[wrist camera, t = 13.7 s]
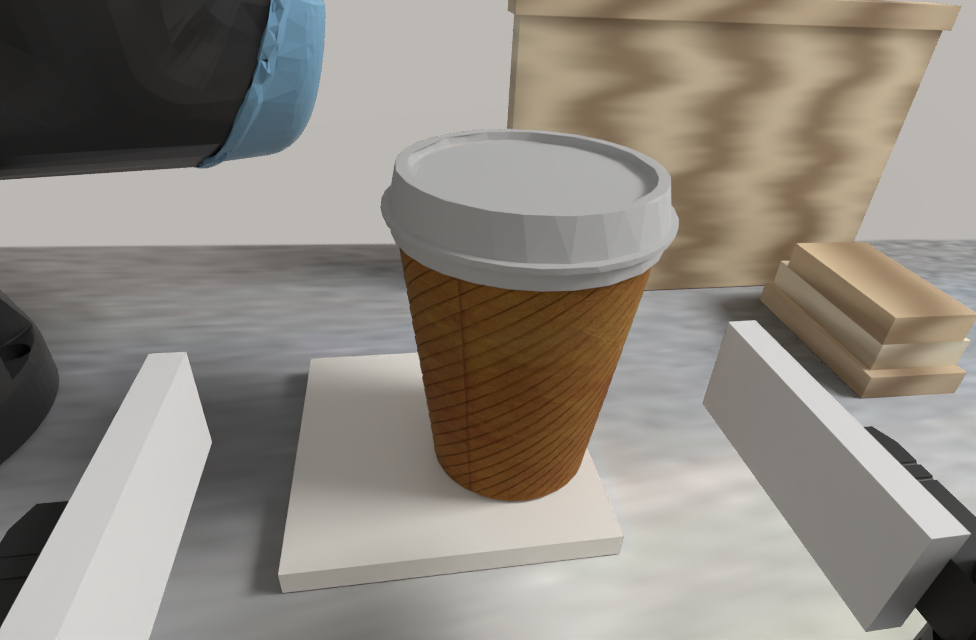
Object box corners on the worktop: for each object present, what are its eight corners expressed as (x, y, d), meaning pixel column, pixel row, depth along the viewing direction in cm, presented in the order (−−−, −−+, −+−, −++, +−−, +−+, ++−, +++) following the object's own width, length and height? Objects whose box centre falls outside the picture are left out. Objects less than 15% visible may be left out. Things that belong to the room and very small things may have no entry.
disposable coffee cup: (528, 354, 30) (551, 116, 24) (670, 470, 24) (754, 186, 17) (357, 418, 26) (329, 143, 19) (476, 586, 19) (494, 254, 13)
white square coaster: (282, 593, 20) (278, 575, 19) (313, 374, 30) (311, 358, 29) (619, 553, 22) (623, 536, 21) (542, 360, 32) (544, 345, 31)
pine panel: (497, 298, 37) (517, -14, 28) (492, 283, 39) (509, -17, 29) (842, 283, 41) (961, 5, 32) (824, 270, 43) (932, 2, 33)
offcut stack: (859, 402, 30) (898, 324, 28) (758, 302, 39) (781, 236, 36) (952, 396, 31) (998, 320, 28) (834, 300, 39) (861, 234, 37)
